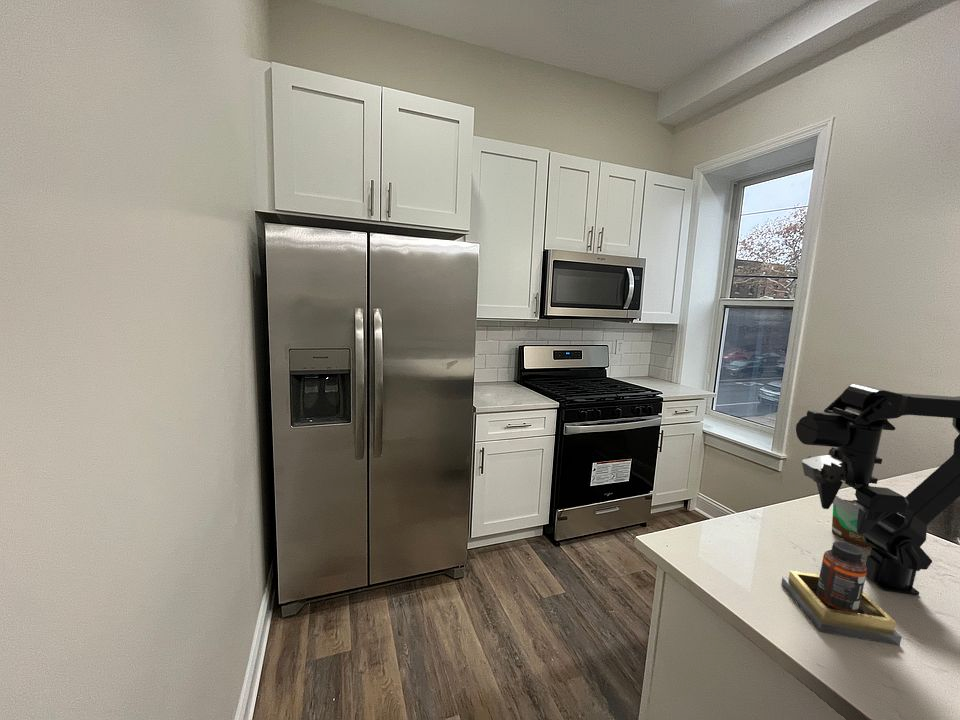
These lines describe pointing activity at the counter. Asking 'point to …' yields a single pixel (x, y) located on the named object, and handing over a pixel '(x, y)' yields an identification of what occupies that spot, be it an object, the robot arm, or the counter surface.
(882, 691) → the counter surface
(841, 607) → the supplement bottle
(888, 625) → the gold-rimmed square tray
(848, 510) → the food container
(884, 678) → the counter surface
